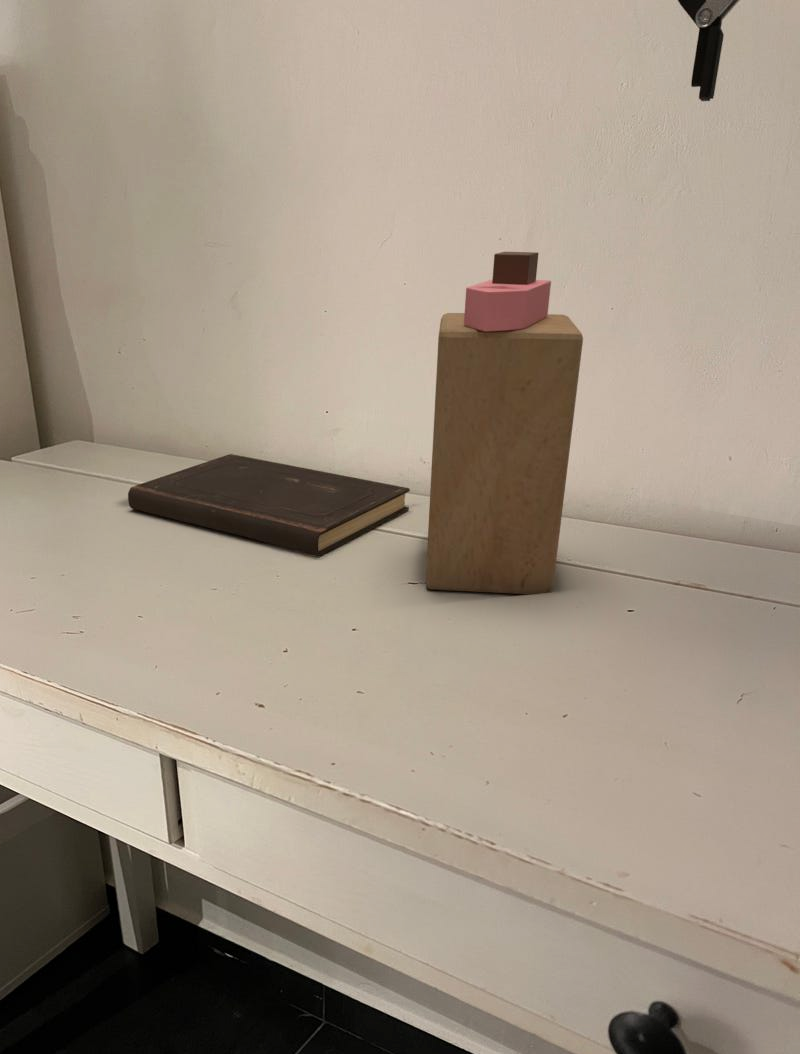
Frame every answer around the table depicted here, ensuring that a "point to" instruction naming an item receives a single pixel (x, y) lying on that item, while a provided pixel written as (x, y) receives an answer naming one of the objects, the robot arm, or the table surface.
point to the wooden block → (500, 454)
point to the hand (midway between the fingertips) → (783, 96)
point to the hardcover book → (272, 502)
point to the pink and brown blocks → (508, 295)
